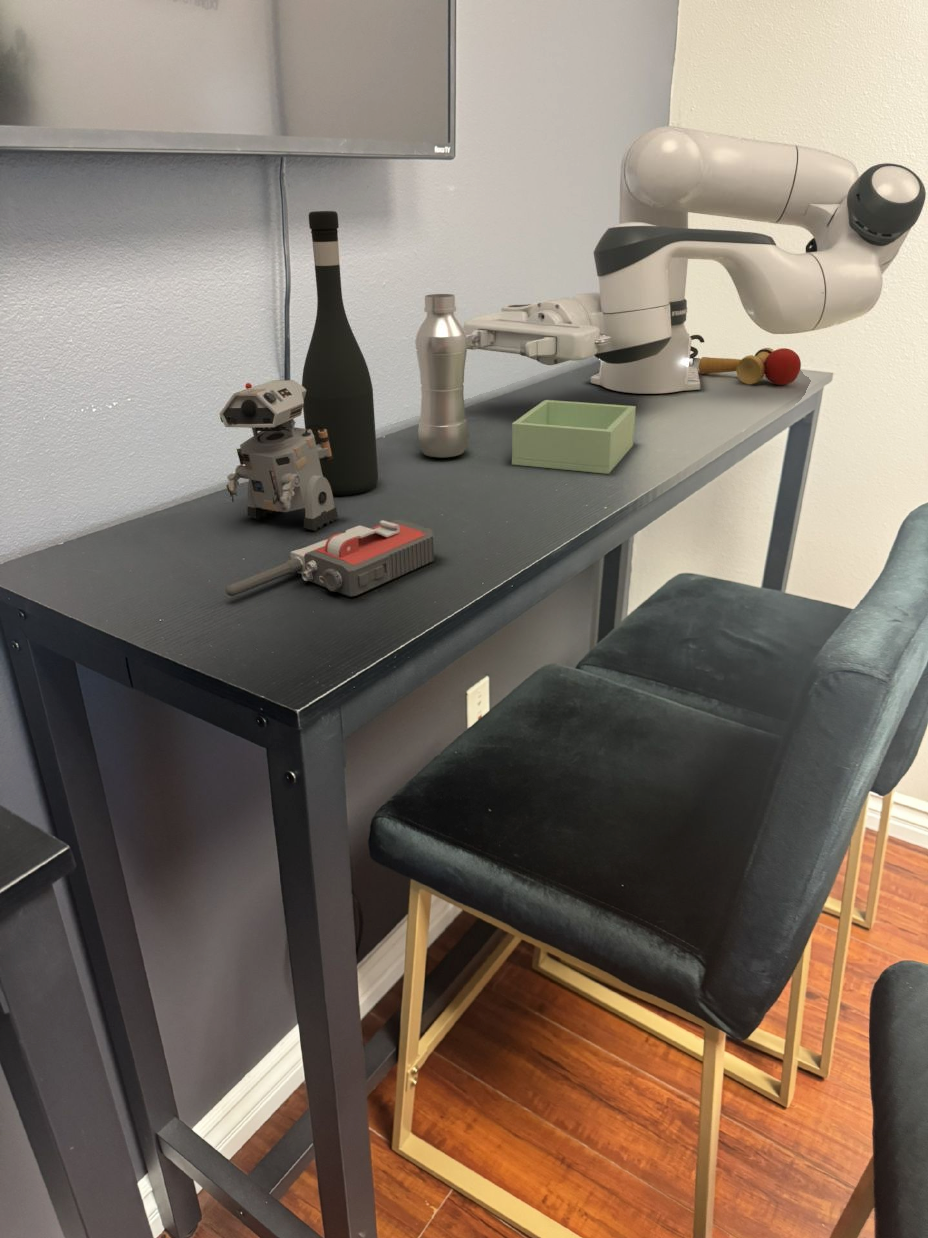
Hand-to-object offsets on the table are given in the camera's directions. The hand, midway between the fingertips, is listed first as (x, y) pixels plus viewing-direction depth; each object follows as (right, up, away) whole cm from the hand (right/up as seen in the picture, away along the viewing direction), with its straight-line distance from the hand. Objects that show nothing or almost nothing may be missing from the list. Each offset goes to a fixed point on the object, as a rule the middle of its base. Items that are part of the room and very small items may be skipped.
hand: (495, 346), depth 119 cm
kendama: (+45, +5, +37) cm, 59 cm away
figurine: (-24, -27, -24) cm, 43 cm away
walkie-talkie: (-16, -33, -37) cm, 52 cm away
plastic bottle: (-7, -15, -1) cm, 17 cm away
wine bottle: (-18, -21, -13) cm, 30 cm away
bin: (+10, -15, -2) cm, 18 cm away
